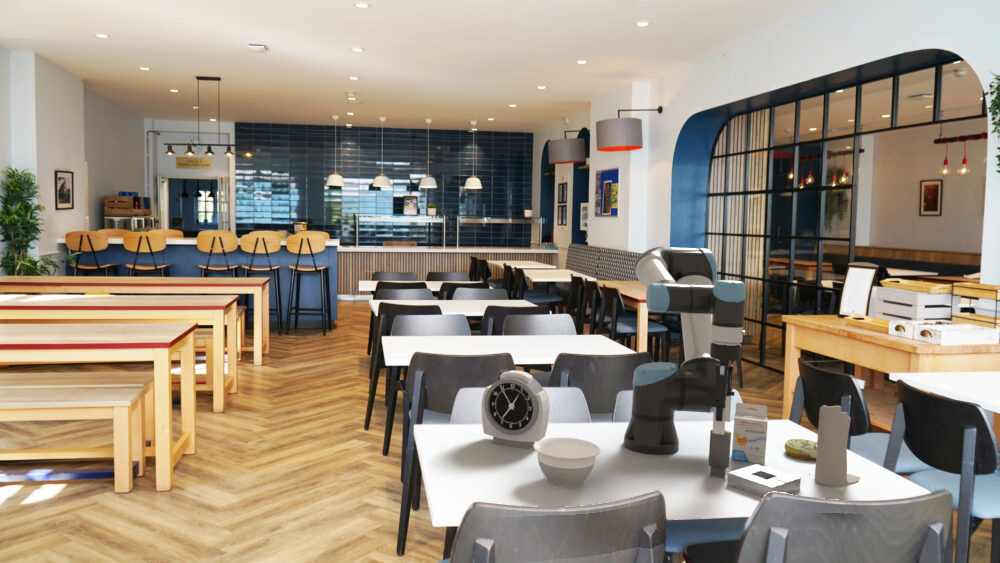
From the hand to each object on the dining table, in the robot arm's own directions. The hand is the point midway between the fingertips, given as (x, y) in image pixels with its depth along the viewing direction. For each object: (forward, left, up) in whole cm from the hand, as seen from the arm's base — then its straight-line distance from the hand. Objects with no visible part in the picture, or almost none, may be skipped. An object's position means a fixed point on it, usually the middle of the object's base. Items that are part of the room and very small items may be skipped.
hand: (721, 427), depth 190 cm
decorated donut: (+20, +29, -13) cm, 38 cm away
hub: (+11, -4, -12) cm, 17 cm away
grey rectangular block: (0, 0, -12) cm, 12 cm away
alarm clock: (-55, 0, -13) cm, 57 cm away
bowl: (-33, -23, -13) cm, 42 cm away
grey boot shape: (+28, +11, -13) cm, 33 cm away
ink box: (+6, +17, -13) cm, 22 cm away
